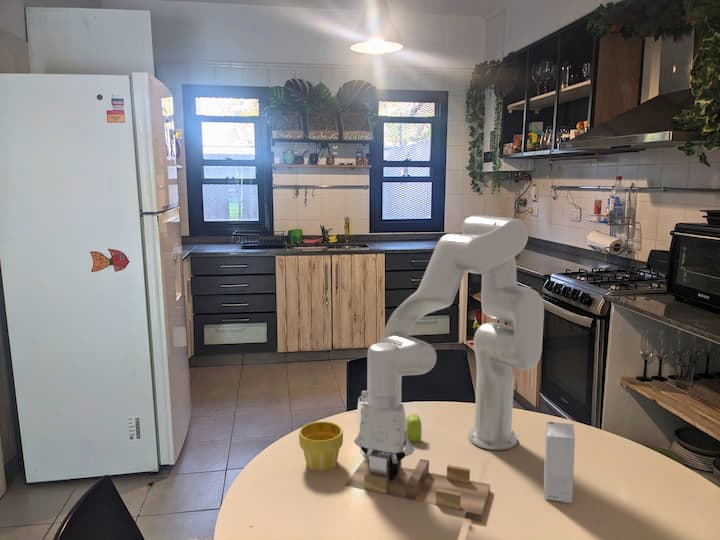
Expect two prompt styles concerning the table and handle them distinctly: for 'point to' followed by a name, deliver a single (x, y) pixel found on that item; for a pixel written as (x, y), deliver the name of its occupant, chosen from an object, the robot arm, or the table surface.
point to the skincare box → (559, 462)
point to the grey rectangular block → (380, 464)
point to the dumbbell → (414, 428)
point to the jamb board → (429, 487)
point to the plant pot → (321, 444)
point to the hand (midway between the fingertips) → (383, 474)
